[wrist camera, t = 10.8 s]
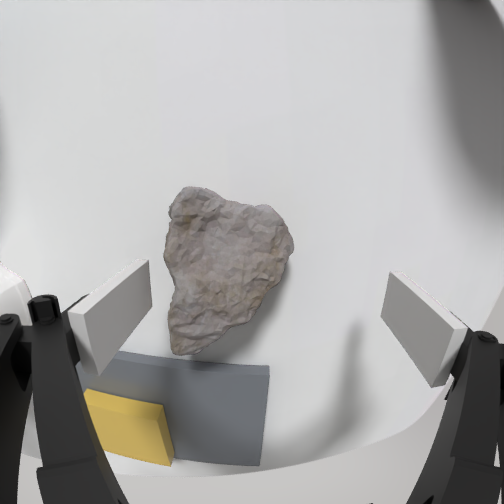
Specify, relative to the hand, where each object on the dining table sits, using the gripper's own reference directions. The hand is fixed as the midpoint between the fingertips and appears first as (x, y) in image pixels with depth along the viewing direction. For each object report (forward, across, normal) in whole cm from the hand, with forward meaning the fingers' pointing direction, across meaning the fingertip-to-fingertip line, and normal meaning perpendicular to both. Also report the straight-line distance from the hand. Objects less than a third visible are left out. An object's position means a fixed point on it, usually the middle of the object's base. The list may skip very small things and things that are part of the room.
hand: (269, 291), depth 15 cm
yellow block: (+3, -12, -13) cm, 18 cm away
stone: (+5, -4, 0) cm, 6 cm away
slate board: (+5, -10, -16) cm, 19 cm away
